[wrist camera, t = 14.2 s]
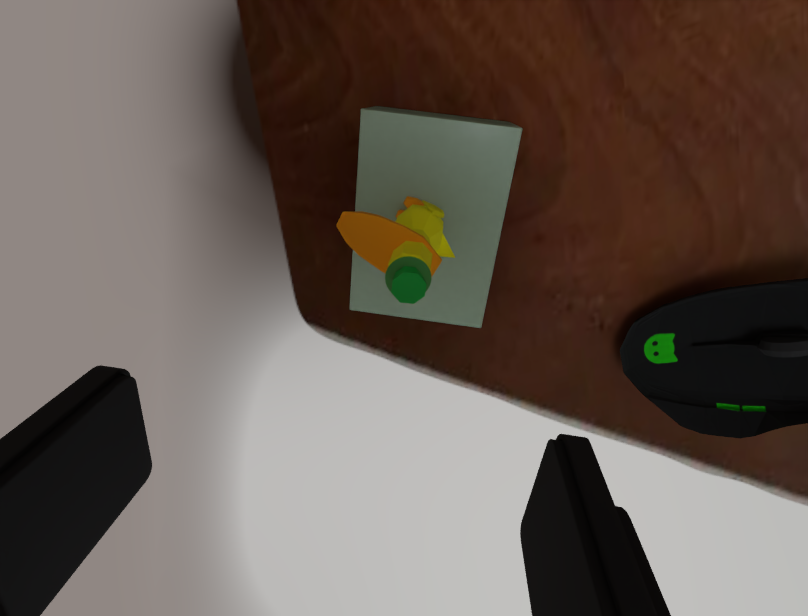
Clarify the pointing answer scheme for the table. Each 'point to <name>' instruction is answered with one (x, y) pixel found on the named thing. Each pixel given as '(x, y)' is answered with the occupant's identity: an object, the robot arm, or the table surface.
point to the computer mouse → (726, 358)
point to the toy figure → (400, 245)
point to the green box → (436, 203)
